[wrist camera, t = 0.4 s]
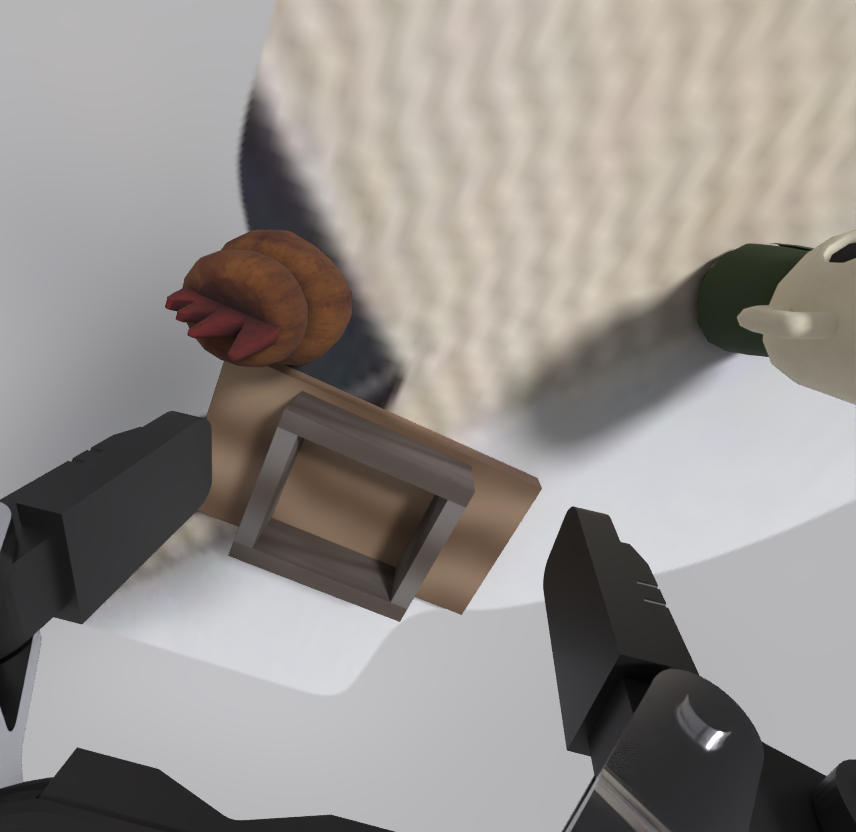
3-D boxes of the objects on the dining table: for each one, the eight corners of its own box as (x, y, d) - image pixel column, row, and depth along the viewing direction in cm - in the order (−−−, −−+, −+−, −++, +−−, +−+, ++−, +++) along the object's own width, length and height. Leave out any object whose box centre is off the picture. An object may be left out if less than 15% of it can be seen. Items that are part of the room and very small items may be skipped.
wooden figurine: (380, 299, 28) (319, 347, 14) (318, 362, 29) (205, 464, 15) (297, 213, 26) (131, 164, 12) (236, 284, 28) (24, 315, 13)
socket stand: (238, 343, 29) (199, 361, 24) (537, 478, 32) (554, 517, 27) (190, 492, 33) (148, 532, 28) (460, 600, 35) (463, 653, 31)
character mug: (852, 232, 26) (1225, 212, 14) (818, 354, 28) (1109, 431, 16) (660, 236, 26) (855, 220, 14) (643, 357, 29) (795, 434, 16)
